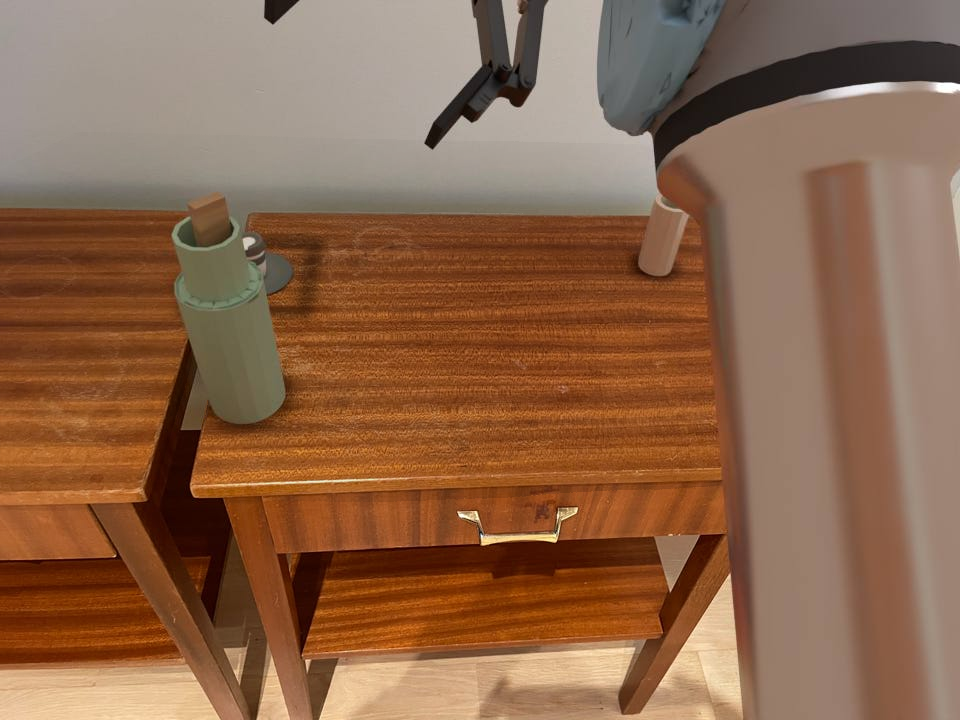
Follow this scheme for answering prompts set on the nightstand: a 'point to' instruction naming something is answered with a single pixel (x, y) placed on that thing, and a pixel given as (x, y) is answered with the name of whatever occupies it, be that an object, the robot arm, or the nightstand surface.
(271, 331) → the bottle
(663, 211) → the holder
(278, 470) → the nightstand surface
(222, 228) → the wooden stick
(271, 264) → the coffee cup
